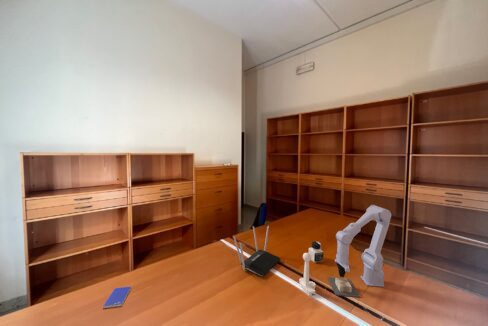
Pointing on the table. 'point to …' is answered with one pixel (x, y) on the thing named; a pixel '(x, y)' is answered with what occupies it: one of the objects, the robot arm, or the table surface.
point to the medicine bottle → (316, 252)
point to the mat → (338, 293)
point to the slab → (343, 285)
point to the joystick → (307, 277)
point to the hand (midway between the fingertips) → (341, 276)
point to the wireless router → (258, 258)
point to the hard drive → (117, 297)
